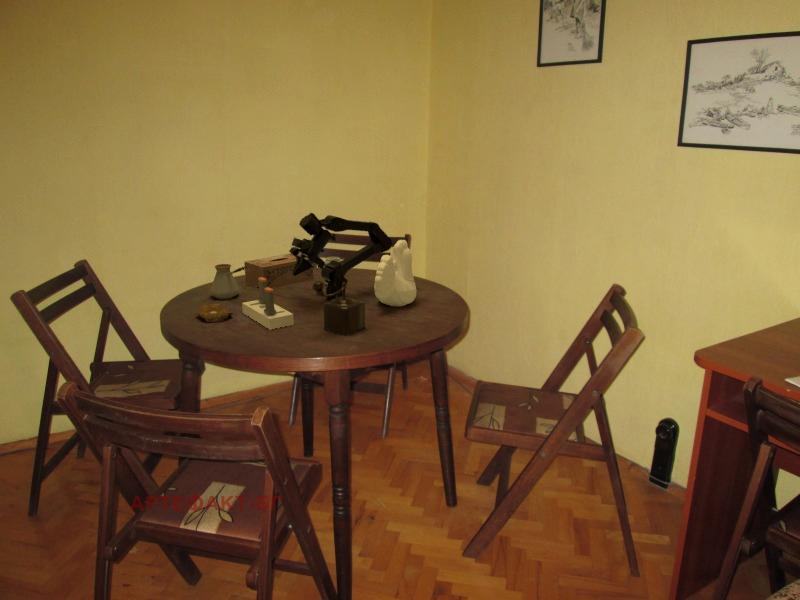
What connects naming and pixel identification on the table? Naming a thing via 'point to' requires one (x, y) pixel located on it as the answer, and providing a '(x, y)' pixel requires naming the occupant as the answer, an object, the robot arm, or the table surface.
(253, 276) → the tissue box cover
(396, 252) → the cream foot sculpture
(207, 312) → the decorative rock
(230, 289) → the coffee pot
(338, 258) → the can
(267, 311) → the switch
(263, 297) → the switch
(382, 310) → the table surface
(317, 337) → the table surface
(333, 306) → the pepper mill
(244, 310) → the cream lever base
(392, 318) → the table surface
